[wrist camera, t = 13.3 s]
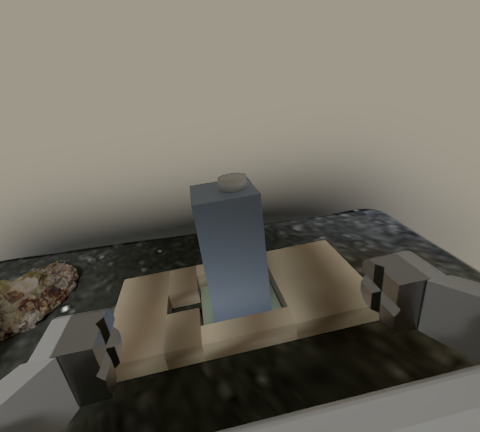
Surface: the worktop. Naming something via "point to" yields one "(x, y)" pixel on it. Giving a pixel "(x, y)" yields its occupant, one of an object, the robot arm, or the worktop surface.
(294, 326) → the board
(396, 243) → the worktop surface
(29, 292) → the mineral rock
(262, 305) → the block
